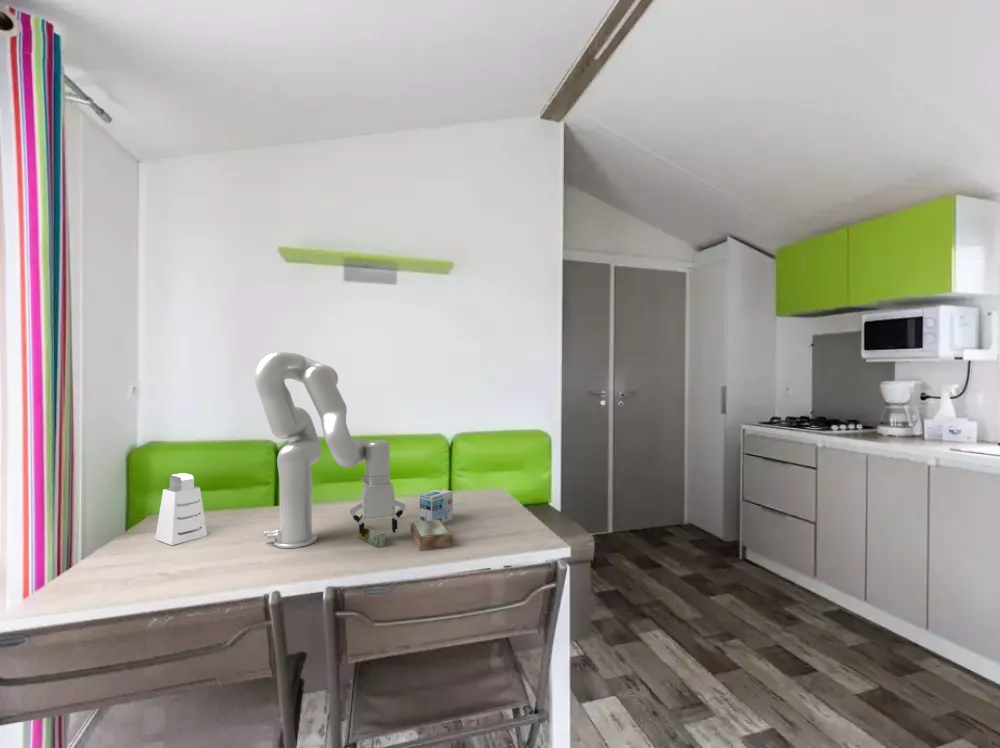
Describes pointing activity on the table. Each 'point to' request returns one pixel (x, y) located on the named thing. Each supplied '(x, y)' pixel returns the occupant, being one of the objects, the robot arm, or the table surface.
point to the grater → (180, 511)
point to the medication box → (373, 536)
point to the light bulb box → (436, 505)
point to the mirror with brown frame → (431, 535)
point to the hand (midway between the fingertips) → (378, 533)
